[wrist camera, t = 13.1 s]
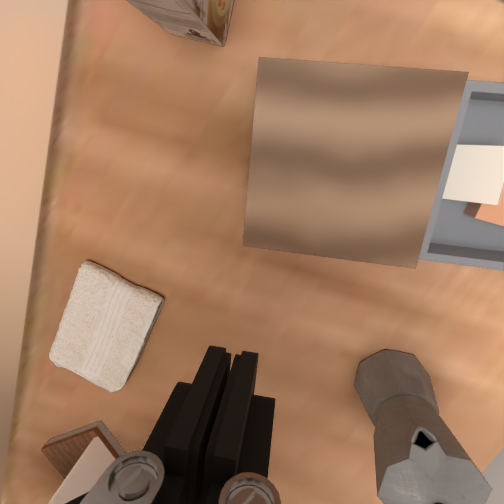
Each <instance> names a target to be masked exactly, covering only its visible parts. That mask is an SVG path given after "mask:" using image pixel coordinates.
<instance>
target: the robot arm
mask: <svg viewBox="0 0 504 504" xmlns="http://www.w3.org/2000/svg"><path fill="white" fill-rule="evenodd" d="M257 363H258V353H253V352H247V351H242V354H241V355H238V354H236V355H235V358H234V361H233V364H232V367H231V371H230V364H231V353H226V348H222V347H216V346H209V348H208V350H207V352H206V354H205V356H204V359H203V361H202V363H201V365H200V368H199V370H198V372H197V374H196V376H195V379H194V381H193V383H192V384H190V383H184V382H178V383H177V385H176V386H175V388H174V390H173V392H172V394H171V396H170V398H169V400H168V402H167V404H166V405H165V407H164V409H163V411H162V413H161V415H160V417H159V419H158V421H157V423H156V425H155V427H154V429H153V431H152V433H151V435H150V437H149V439H148V440H147V442H146V444H145V446H144V448H143V450H141V451H132V452H129V453H126V454H124V455H122V456H120V457H119V458H117V459H116V460H114V461H113V462H112V463H111V464H110V466H109V467H108V468H107V469H106V470H105V471H104V473H103V474H102V475H101V477H100V478H99V479H98V481H97V482H96V483H95V484H94V486H93V487H92V488H91V490H90V491H89V492H87V493H85V494H83V495H81V496H79V497H77V498H75V499H73V500H71V501H69V502H67V503H65V504H281V501H280V496H279V493H278V491H277V490H276V488H275V486H274V485H273V484H272V483H271V482H270V481H269V480H268V479H267V477H268V467H269V457H270V447H271V437H272V427H273V417H274V408H275V398H269V397H263V396H258V395H254V389H255V380H256V372H257Z"/></svg>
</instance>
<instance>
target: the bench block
mask: <svg viewBox="0 0 504 504" xmlns="http://www.w3.org/2000/svg"><path fill="white" fill-rule="evenodd" d="M468 73H469V72H460V71H446V70H432V69H418V68H404V67H390V66H376V65H362V64H348V63H335V62H321V61H307V60H293V59H279V58H265V57H259V61H258V73H257V84H256V96H255V107H254V119H253V130H252V142H251V154H250V165H249V177H248V188H247V200H246V212H245V223H244V235H243V246H246V247H253V248H261V249H269V250H276V251H284V252H292V253H299V254H307V255H315V256H322V257H330V258H337V259H345V260H353V261H360V262H368V263H376V264H383V265H391V266H399V267H406V268H414V269H416V266H417V262H418V259H419V255H420V251H421V248H422V244H423V240H424V236H425V233H426V229H427V225H428V222H429V218H430V214H431V211H432V207H433V203H434V199H435V196H436V192H437V188H438V185H439V181H440V177H441V173H442V170H443V166H444V162H445V159H446V155H447V151H448V148H449V144H450V140H451V136H452V133H453V129H454V125H455V122H456V118H457V114H458V110H459V107H460V103H461V99H462V96H463V92H464V88H465V85H466V81H467V77H468Z"/></svg>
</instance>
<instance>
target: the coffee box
mask: <svg viewBox="0 0 504 504" xmlns="http://www.w3.org/2000/svg"><path fill="white" fill-rule="evenodd" d="M127 1H128V2H129V3H130V4H132V5H133V6H134V7H136V8H137V9H138V10H139V11H141V12H142V13H143V14H145V15H146V16H147V17H149V18H150V19H151V20H152V21H154V22H155V23H156V24H158V25H159V26H160V27H161V28H163V29H164V30H165V31H166V32H168V33H170V34H173V35H177V36H181V37H185V38H189V39H193V40H197V41H202V42H206V43H210V44H215V45H219V46H224V45H225V42H226V38H227V33H228V28H229V23H230V18H231V13H232V8H233V3H234V0H127Z"/></svg>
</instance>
